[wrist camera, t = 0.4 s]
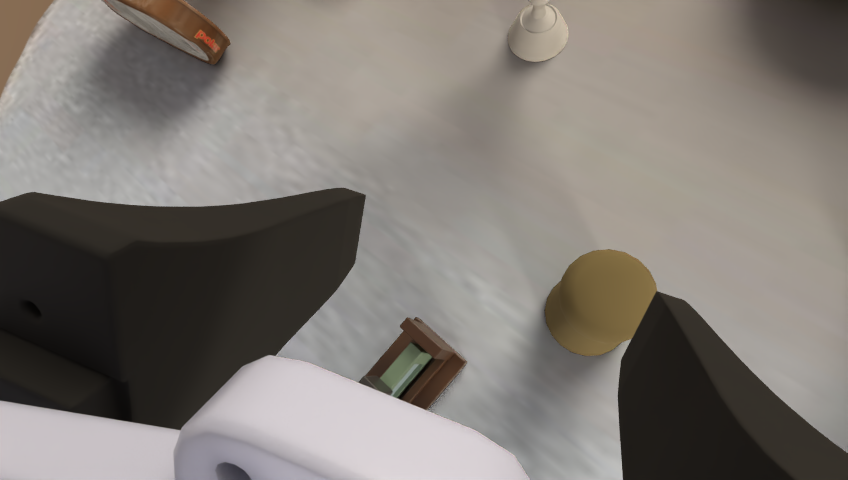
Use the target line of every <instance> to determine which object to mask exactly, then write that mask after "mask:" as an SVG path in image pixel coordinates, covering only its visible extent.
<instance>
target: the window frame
mask: <svg viewBox="0 0 848 480" xmlns="http://www.w3.org/2000/svg"><path fill="white" fill-rule="evenodd" d="M400 328H401V329H403V330H404V331H403V333H402V334H401V335H400V336H399V337H398V338H397V339H396V341H395V342H394V343H393V344H392V345H391V346H390V348H389V349H388V350H387V351H386V352H385V353H384V355H383V356H382V357H381V358H380V359H379V360H378V362H377V363H376V364H375V365H374V366H373V367H372V369H371V370H370V371H369V372H368V373H367V374H366V375H365V376H378V377H379V378H380V377H381V376H382V375H383V374H384V373H385V372H386V370H387V369H388V368H389V367H390V366H391V365H392V363H393V362H394V361H395V360H396V359H397V358H398V356H399V355H400V354H401V353H402V352H403V351H404V349H405V348H406V347H407V346H408V345H409V344H410V343H411V342H412V343H416V344H419V345H420V346H421V347H422V348H423V349H424V350H425V351H426V352H427V353H429V354H430V355H431V356H432V357H433V358H432V359H431V360H430V361H429V362H428V364H427V365H426V366H425V367H424V368H423V369H422V371H421V372H420V373H419V374H418V375H417V376H416V378H415V379H414V380H413V381H412V382H411V384H410V385H409V386H408V387H407V388H406V389H405V391H404V392H403V393H402V394H401V395H400V396H399V398H398V399H400V400H402V401H405V402H407V403H410V404H412V405H415V406H417V407H419V408H422V409H424V410H428V409H429V408H430V406H431V405H432V404H433V403H434V402H435V401H436V399H437V398H438V397H439V396H440V395H441V393H442V392H443V391H444V390H445V389H446V387H447V386H448V385H449V384H450V383H451V382H452V380H453V379H454V378H455V377H456V376H457V374H458V373H459V372H460V371H461V370H462V369H463V367H464V366H465V365H466V364H467V361H466V360H465V359H464V358H463V357H462V356H461V355H460V354H458V353H457V352H456V351H455V350H454V349H453V348H452V347H451V346H450V345H448V344H447V343H446V342H445V341H444V340H443V339H442V338H441V337H440V336H438V335H437V334H436V333H435V332H434V331H433V330H432V329H431V328H430V327H428V326H427V325H426V324H425V323H424V322H423V321H422V320H421V319H419V318H417V317H415V319H414V320H413V319H410V318H406V319H405V321H404V322H403V323H402V324H401V325H400Z"/></svg>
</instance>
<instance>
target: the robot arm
mask: <svg viewBox="0 0 848 480" xmlns="http://www.w3.org/2000/svg"><path fill="white" fill-rule="evenodd" d="M365 197H366V195H364V194H361V193H358V192H355V191H352V190H349V189H346V188H333V189H326V190H320V191H315V192H309V193H304V194H299V195H294V196H288V197H283V198H277V199H270V200H264V201H257V202H250V203H243V204H234V205H222V206H205V207H156V206H138V205H125V204H114V203H104V202H95V201H88V200H81V199H74V198H68V197H61V196H55V195H48V194H42V193H37V192H30V193H25V194H22V195H19V196H16V197H13V198H10V199H7V200H4V201H1V202H0V480H530V478H529V477H528V475H527V474H526V472H525V471H524V469H523V468H522V466H521V464H520V463H519V461H518V460H517V458H516V457H515V456H514V455H513V454H512V453H510V452H509V451H507V450H505V449H504V448H502V447H501V446H499V445H498V444H496V443H495V442H493V441H492V440H490V439H488V438H487V437H485V436H484V435H482V434H481V433H479V432H478V431H476V430H474V429H471V428H469V427H466V426H464V425H461V424H459V423H456V422H454V421H451V420H449V419H447V418H444V417H442V416H439V415H437V414H434V413H432V412H429V411H427V410H424V409H422V408H419V407H417V406H415V405H412V404H410V403H407V402H405V401H402V400H400V399H397V398H395V397H392V396H390V395H388V394H385V393H383V392H380V391H378V390H375V389H373V388H370V387H368V386H365V385H363V384H360V383H358V382H356V381H353V380H351V379H348V378H346V377H343V376H341V375H338V374H336V373H333V372H331V371H328V370H326V369H324V368H321V367H319V366H316V365H314V364H311V363H309V362H306V361H300V360H294V359H289V358H283V357H277V356H275V355H276V354H277V353H278V352H279V351H280V350H281V349H282V347H283V346H284V345H285V344H286V343H287V342H288V341H289V340H290V339H291V338H292V337H293V336H294V335H295V334H296V333H297V331H298V330H299V329H300V328H301V327H302V326H303V325H304V324H305V323H306V322H307V321H308V320H309V319H310V318H311V317H312V316H313V315H314V314H315V313H316V312H317V311H318V310H319V309H320V307H321V306H322V305H323V304H324V303H325V302H326V301H327V300H328V299H329V298H330V297H331V296H332V295H333V293H334V292H335V291H336V290H337V289H338V287H339V286H340V285H341V283H342V282H343V280H344V279H345V277H346V276H347V274H348V273H349V271H350V270H351V268H352V267H353V265H354V264H355V259H356V253H357V247H358V241H359V234H360V228H361V222H362V216H363V209H364V203H365ZM618 408H619V426H620V441H621V455H622V470H623V480H848V453H846V452H845V451H844V450H842V449H841V448H840V447H838V446H837V445H836V444H834V443H833V442H832V441H830V440H829V439H828V438H826V437H825V436H824V435H823V434H821V433H820V432H819V431H817V430H816V429H815V428H814V427H813V426H811V425H810V424H809V423H808V422H807V421H805V420H804V419H803V418H802V417H801V416H800V415H798V414H797V413H796V412H795V411H794V410H792V409H791V408H790V407H789V406H788V405H787V404H785V403H784V402H783V401H782V400H781V399H780V398H779V397H778V396H777V395H775V394H774V393H773V392H772V391H771V390H770V389H769V388H768V387H767V386H766V385H765V384H764V383H763V382H762V381H761V380H760V379H759V378H758V377H757V376H756V375H755V374H754V373H753V372H752V371H751V370H750V369H749V368H748V367H747V366H746V365H745V364H744V363H743V362H742V361H741V360H740V359H739V358H738V357H737V356H736V355H735V354H734V352H733V351H732V350H731V349H730V348H729V347H728V346H727V345H726V344H725V343H724V342H723V340H722V339H721V338H720V337H719V336H718V335H717V334H716V333H715V332H714V330H713V329H712V328H711V327H710V326H709V325H708V324H707V323H706V322H705V320H704V319H703V318H702V317H701V316H700V315H699V314H698V313H697V312H696V311H695V310H694V309H693V308H692V307H691V306H690V305H689V304H688V303H687V302H686V301H684V300H682V299H679V298H675V297H672V296H669V295H666V294H663V293H660V292H657V291H656V293H655V295H654V297H653V299H652V301H651V302H650V304H649V306H648V308H647V310H646V312H645V314H644V316H643V318H642V320H641V322H640V324H639V326H638V328H637V330H636V332H635V334H634V336H633V338H632V340H631V342H630V343H629V345H628V347H627V349H626V351H625V353H624V355H623V357H622V359H621V368H620V377H619V388H618Z"/></svg>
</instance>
